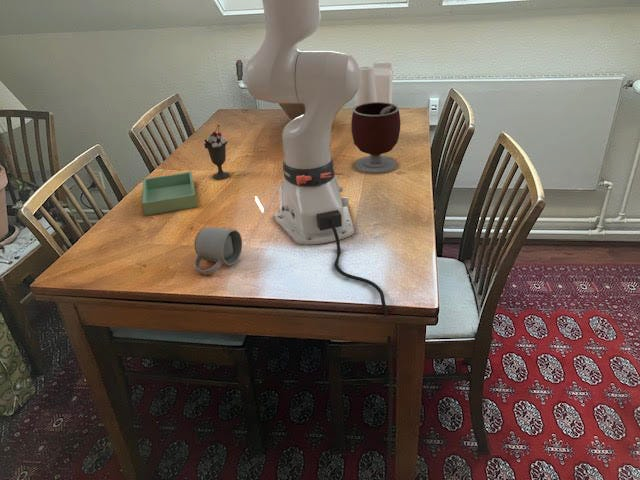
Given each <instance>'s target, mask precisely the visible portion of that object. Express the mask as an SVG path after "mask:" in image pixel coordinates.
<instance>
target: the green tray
mask: <svg viewBox="0 0 640 480" xmlns="http://www.w3.org/2000/svg"><path fill="white" fill-rule="evenodd" d="M195 189H196V188H195V184H194V179H193V173H192V171H188V172H181V173H175V174H168V175H161V176H154V177H147V178H143V179H142V201H141V202H142V203H141V205H142V208H143V212H144V216H150V215H156V214H157V215H158V214H162V213H169V212H174V211H175V212H176V211H181V210H186V209H191V208H198V201H197V196H196V195H197V194H196V191H195Z"/></svg>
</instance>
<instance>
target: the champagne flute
mask: <svg viewBox="0 0 640 480" xmlns="http://www.w3.org/2000/svg"><path fill="white" fill-rule="evenodd" d="M359 69H360V73H361V82H360V86H359V89H358V91H357V93H356V95H355V96H356V97H355V106H357V105H360V104H364V103H370V102H377V95H376V84H375V73H374V66H372V65H362V66H359Z"/></svg>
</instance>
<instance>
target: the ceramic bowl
mask: <svg viewBox="0 0 640 480" xmlns="http://www.w3.org/2000/svg"><path fill="white" fill-rule="evenodd" d="M277 104H278V105H279V106H280V108H281V109H282V111H283V112H284V113H285V114H286V116H287V117H288V118H289V119H290V121H292V120H293V119H295V118H297V117H299V116H301V115H303V114H305V105H304V104H301V103H277Z"/></svg>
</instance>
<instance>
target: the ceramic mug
mask: <svg viewBox="0 0 640 480" xmlns="http://www.w3.org/2000/svg"><path fill="white" fill-rule="evenodd" d="M242 250H243V239H242V235H241V233H240V232H239V231H238V229H234V228H223V227H215V226H214V227H213V226H209V227H208V226H207V227H203V228H201V229H200V230H199V231H198V233H197V234H196V236H195V239H194V251H195V253H196V255H197V256H196V258H195V259H194V267H195V269H196V271H197V272H198V273H199V274H201V275H204V276H209V275H213V274H215V273H216V272H217V271H218V270H219V269H220V268H221V267H222V265H223V266H224V265H225V266H233V265H234V264H236V263H237V262H238V261H239V259H240V257H241V254H242ZM202 260H204V261H209V262H214V265H212V266H211V267H209V268H208V269H204V270H203V269H202V268H201V267H200V264H201V261H202Z"/></svg>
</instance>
